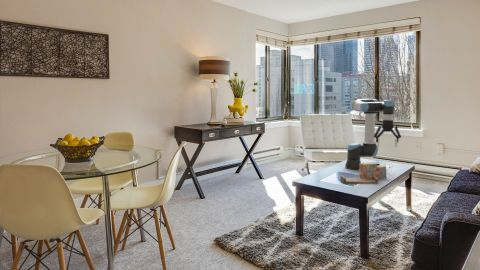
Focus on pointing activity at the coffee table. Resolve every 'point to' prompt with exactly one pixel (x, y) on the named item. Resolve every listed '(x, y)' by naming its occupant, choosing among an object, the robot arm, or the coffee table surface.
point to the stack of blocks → (371, 170)
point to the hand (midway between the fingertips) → (386, 146)
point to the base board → (360, 180)
